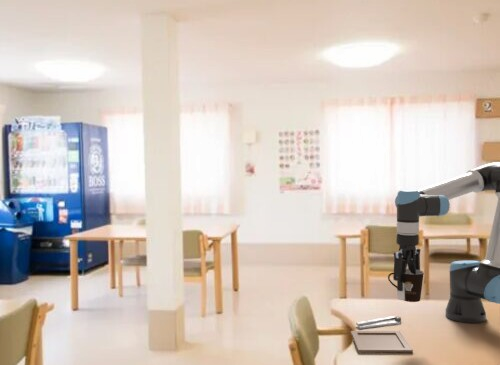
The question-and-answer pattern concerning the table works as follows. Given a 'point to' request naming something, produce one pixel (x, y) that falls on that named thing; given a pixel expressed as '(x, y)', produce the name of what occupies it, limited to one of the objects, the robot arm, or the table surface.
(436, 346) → the table surface
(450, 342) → the table surface
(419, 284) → the coffee mug
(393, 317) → the tongs
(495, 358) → the table surface
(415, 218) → the robot arm
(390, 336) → the tray
